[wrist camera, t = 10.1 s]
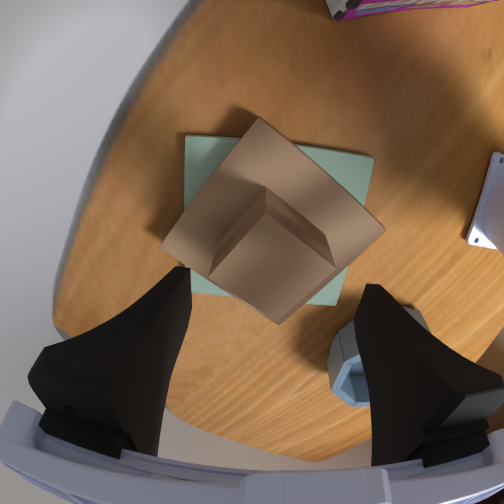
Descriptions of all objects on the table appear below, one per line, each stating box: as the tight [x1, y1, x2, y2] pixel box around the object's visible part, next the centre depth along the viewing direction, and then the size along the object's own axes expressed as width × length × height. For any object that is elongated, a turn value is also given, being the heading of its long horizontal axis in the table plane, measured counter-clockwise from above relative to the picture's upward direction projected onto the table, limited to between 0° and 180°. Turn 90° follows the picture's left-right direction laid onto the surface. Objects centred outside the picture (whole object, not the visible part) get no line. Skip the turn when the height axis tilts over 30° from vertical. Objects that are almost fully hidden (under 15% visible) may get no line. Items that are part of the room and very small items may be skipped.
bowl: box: [327, 306, 431, 407], centre depth 26 cm, size 10×10×4 cm
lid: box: [159, 116, 386, 325], centre depth 19 cm, size 11×11×5 cm
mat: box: [184, 135, 375, 306], centre depth 22 cm, size 12×12×1 cm
